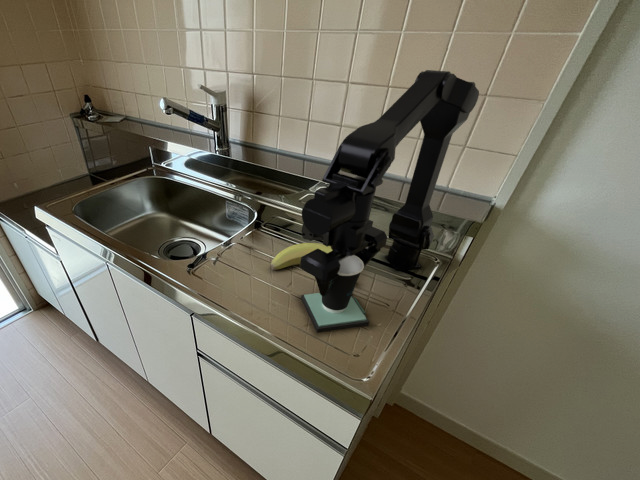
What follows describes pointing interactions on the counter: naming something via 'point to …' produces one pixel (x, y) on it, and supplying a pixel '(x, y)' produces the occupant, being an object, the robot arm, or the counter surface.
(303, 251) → the banana
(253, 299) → the counter surface
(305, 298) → the scale
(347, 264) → the dixie cup
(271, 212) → the counter surface
